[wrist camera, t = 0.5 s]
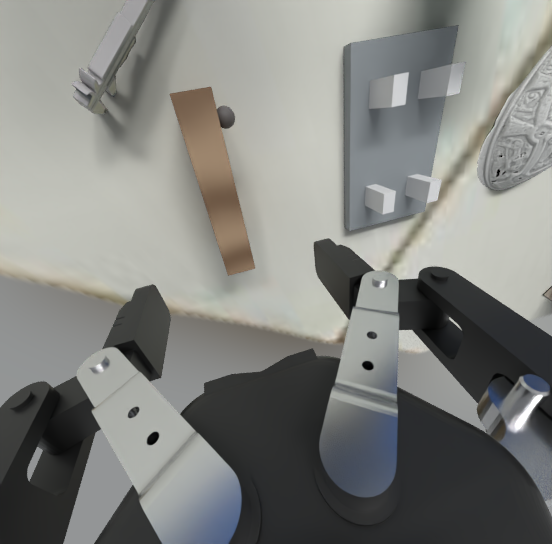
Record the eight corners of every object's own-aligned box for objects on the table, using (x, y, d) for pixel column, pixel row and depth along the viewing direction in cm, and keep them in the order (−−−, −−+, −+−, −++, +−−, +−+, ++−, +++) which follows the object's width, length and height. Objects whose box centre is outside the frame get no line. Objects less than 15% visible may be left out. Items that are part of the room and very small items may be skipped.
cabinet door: (179, 101, 24) (169, 93, 18) (222, 93, 25) (229, 83, 18) (223, 244, 33) (228, 275, 26) (255, 236, 34) (267, 264, 27)
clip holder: (343, 46, 25) (374, 30, 21) (446, 29, 26) (496, 10, 22) (344, 227, 36) (364, 242, 31) (417, 208, 37) (446, 220, 33)
